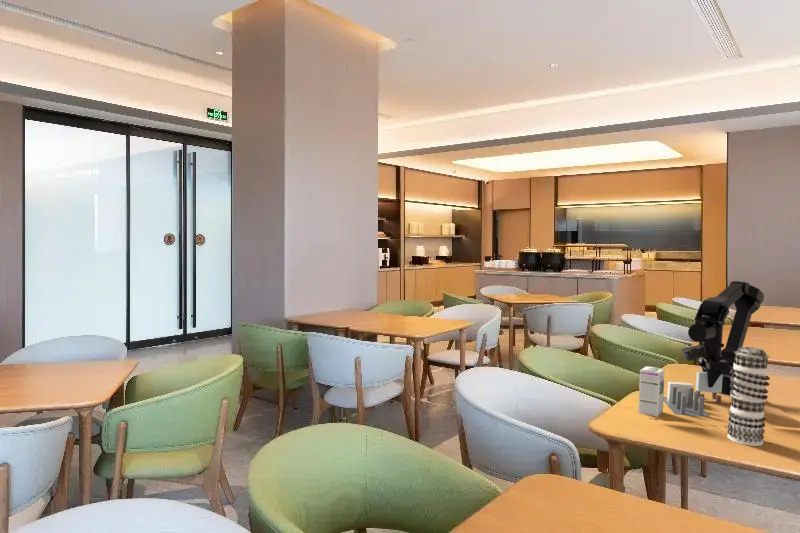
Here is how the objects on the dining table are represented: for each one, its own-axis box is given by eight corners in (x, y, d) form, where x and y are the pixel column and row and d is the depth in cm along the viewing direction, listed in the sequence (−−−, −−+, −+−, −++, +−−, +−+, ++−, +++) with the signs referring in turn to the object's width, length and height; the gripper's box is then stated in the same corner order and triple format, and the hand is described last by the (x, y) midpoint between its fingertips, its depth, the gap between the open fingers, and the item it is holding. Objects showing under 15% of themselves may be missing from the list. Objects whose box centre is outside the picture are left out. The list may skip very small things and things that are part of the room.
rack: (692, 403, 186) (693, 383, 185) (711, 421, 168) (712, 399, 168) (659, 400, 188) (660, 380, 187) (674, 418, 170) (676, 396, 170)
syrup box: (658, 420, 168) (661, 372, 166) (637, 416, 171) (640, 368, 170) (662, 415, 172) (665, 368, 171) (642, 411, 176) (645, 365, 175)
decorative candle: (717, 435, 156) (723, 346, 155) (741, 432, 160) (748, 344, 158) (748, 448, 148) (755, 353, 146) (773, 444, 151) (780, 351, 149)
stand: (717, 401, 188) (718, 391, 188) (724, 407, 182) (725, 396, 182) (691, 399, 190) (692, 389, 189) (697, 405, 184) (698, 394, 184)
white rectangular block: (690, 401, 183) (691, 383, 183) (692, 403, 181) (693, 385, 181) (666, 399, 185) (668, 381, 184) (668, 401, 182) (670, 383, 182)
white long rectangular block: (718, 391, 186) (720, 373, 186) (721, 393, 184) (722, 374, 183) (695, 389, 187) (696, 371, 187) (698, 391, 185) (699, 373, 185)
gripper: (677, 332, 195) (674, 377, 196) (694, 343, 177) (691, 392, 178) (712, 334, 193) (709, 379, 194) (733, 345, 175) (729, 395, 176)
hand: (708, 386), depth 185 cm, fingers closed on white long rectangular block, 2 cm apart
